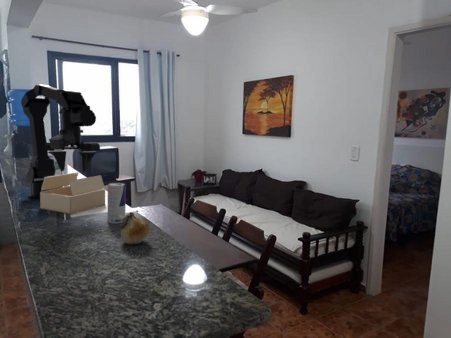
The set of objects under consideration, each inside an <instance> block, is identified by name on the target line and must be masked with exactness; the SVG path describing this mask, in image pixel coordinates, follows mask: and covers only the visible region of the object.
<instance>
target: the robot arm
mask: <svg viewBox="0 0 451 338" xmlns="http://www.w3.org/2000/svg"><path fill="white" fill-rule="evenodd" d="M51 100H54V101H55V102H56V104H58V105H59V106H61V107H62V108H61V109H60V110H59V111H58V114H60V115H61V121H62V122H61V123H62V124H61V125H62V127H61V128H62V129H59V132H58V133H59V134H57V135H54V136H53V137H50V138H49V139H48V142H47V138H46V129H45V128H46V127H45V121H44V120H45V119H44V118H45V117H46V115H47V113H48V107H49V105H50V104H51ZM20 104H21V107H22V111H23V113H24V115H25V116H26V117H27V118H28V120H29V121H28V122H29V127H30V136H31V144H32V145H31V146H32V154H33V155H32V159H31V160H30V162H29V169H28V171H27V172H26V174H25V182H26V183H30V194H28V195H27V197H28V198H33V199H40V192H41V191H47V190H51V189H47V190H41V188H42V185H43V181H44V177H50V176H55V171H56V170H55V166H54V160H53V159H51V158H50V157H49V156H48V154H52V155H53V156H54V157H55V159H56V161H57V163H58V165H59V168H60V170H61V171H63V172H64V171H65V168H66V159H67V158H66V157H67V151H66V150H80V151H81V152H80V151H79V154H80V156H81V162H82V163H81V164H82V172H83V173H85V172H87V170H88V168H89V166H90V164H91V162H92V160H93V158H94V157H95V154H98V151H99V152H100V151H101V146H100V144H99V143H98V142H84V141H82V134H83V133H84V130H83V129H81V127H92V126H93V125H94V124H95V123H96V121H97V117H96V114H95V112H94V111H93V109H91V106H90V105H88V104H87V102H86V100H85V98H84V96H83V95H82V92H81V91H79V90H74V89H72V90H71V89H65V88H63V89H62V88H57V87H53V86H50V85H48V84H40V83H39V84H38V83H37V84H35V85H34V87H33V88H32V89H29V90H28V91H26V92H25V93H23V96H22V97H21V100H20ZM81 133H82V134H81Z"/></svg>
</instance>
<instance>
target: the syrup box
mask: <svg viewBox="0 0 451 338" xmlns="http://www.w3.org/2000/svg"><path fill="white" fill-rule="evenodd" d="M48 156H49V157H50V158H51V159H53V160H54V166H55V170H56V171H55V176H56V175H63V174H64V171H61V170H60V168H59V165H58V163H57V161H56V159H55V157H54V156H53V155H52V154H50V153H48Z"/></svg>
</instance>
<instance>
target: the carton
mask: <svg viewBox="0 0 451 338" xmlns="http://www.w3.org/2000/svg"><path fill="white" fill-rule="evenodd" d="M39 202H40V203H39V204H40V207H39V208H40V209H41V210H45V211H50V212H57V213H62V214H67V215H75V214H79V213H82V212H86V211H88V210H91V209H95V208H98V207H102V206H104V205H106V189H105V188H103V189H99V190H94V191H90V192H86V193H81V194H77V195H73V194H72V191H71V187H70V185H68V186H63V187H58V188H53V189H50V190H47V191H41V192H40V201H39Z"/></svg>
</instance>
